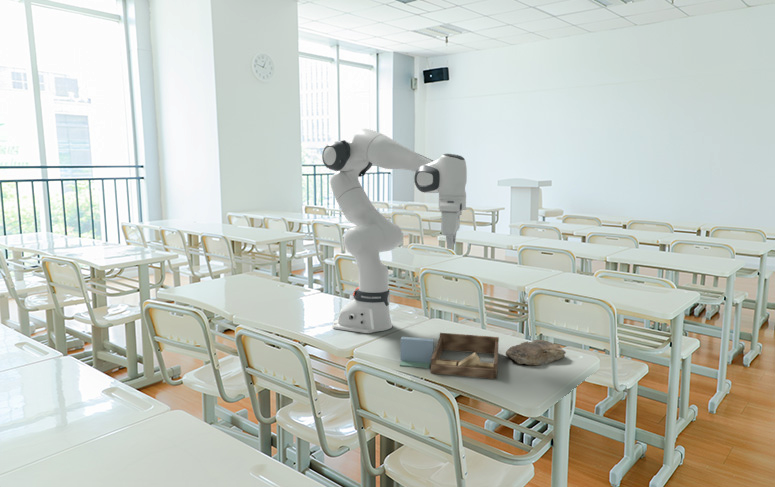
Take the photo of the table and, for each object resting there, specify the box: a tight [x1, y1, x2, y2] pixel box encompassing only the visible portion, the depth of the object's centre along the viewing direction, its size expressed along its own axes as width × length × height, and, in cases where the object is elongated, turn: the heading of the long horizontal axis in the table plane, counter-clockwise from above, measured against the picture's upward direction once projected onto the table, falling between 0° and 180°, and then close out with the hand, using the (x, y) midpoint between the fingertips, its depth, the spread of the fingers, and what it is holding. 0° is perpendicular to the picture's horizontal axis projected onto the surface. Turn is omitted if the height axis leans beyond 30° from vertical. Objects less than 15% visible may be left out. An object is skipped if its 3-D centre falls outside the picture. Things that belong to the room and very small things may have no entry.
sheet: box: [399, 336, 435, 363], centre depth 168 cm, size 10×2×7 cm, turn 78°
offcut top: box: [458, 352, 481, 367], centre depth 161 cm, size 6×3×2 cm
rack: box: [430, 332, 500, 380], centre depth 168 cm, size 19×22×6 cm
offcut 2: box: [473, 361, 494, 369], centre depth 162 cm, size 6×3×2 cm, turn 78°
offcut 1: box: [435, 360, 457, 366], centre depth 163 cm, size 6×3×2 cm, turn 77°
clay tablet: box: [505, 339, 567, 366], centre depth 174 cm, size 14×5×20 cm
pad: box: [399, 360, 431, 369], centre depth 169 cm, size 9×9×1 cm
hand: (451, 246), depth 180 cm, fingers open, 8 cm apart
